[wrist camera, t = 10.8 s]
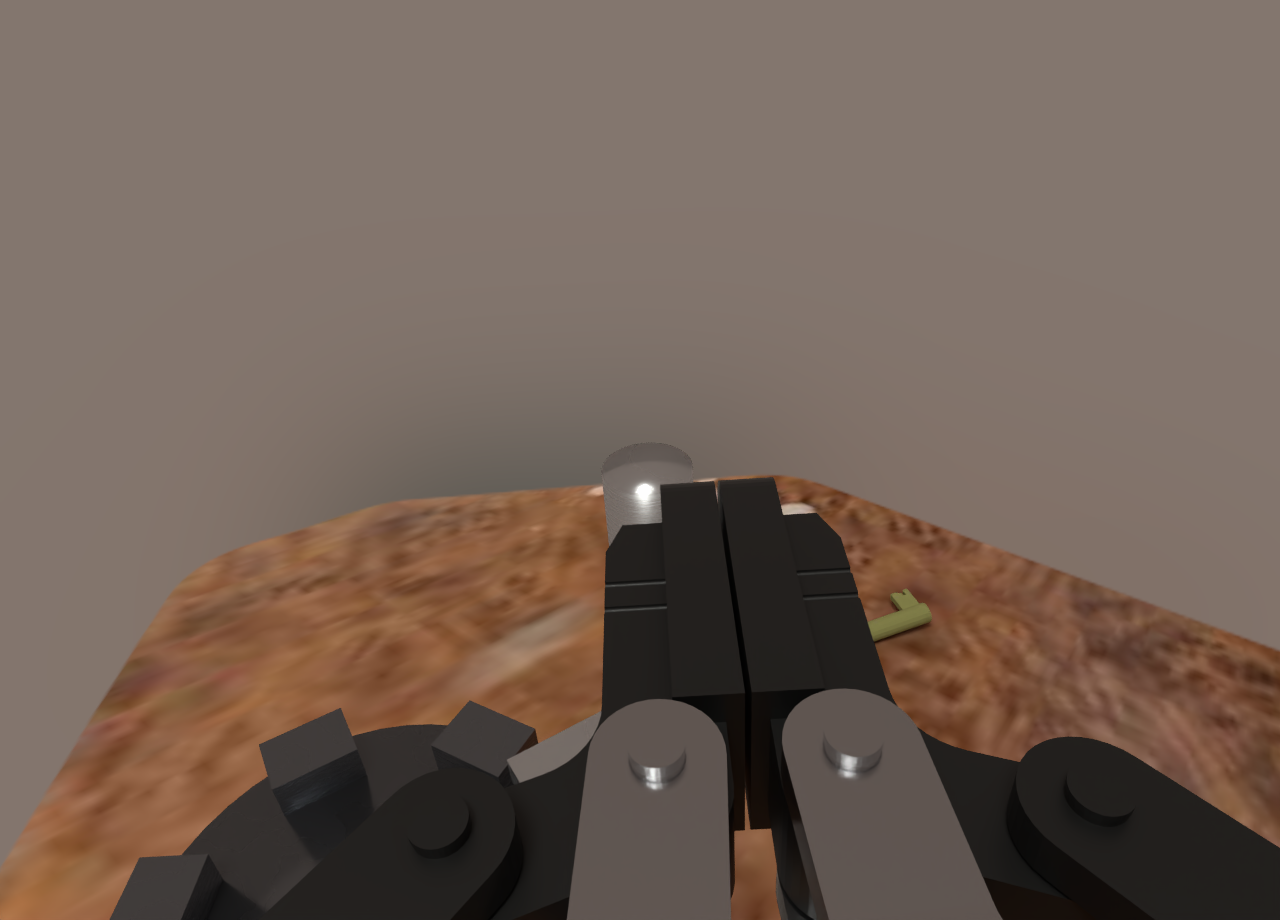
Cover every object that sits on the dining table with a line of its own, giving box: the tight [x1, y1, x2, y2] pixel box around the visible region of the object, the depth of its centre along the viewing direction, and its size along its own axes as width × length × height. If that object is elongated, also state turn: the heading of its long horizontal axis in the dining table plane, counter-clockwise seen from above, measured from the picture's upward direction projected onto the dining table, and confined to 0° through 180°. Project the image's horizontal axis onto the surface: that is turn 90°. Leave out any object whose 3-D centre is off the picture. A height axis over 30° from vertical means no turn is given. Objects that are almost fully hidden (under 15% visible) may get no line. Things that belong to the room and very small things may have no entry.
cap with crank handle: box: [110, 443, 693, 920], centre depth 27 cm, size 16×21×17 cm
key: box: [868, 589, 932, 642], centre depth 53 cm, size 7×12×2 cm, turn 125°
